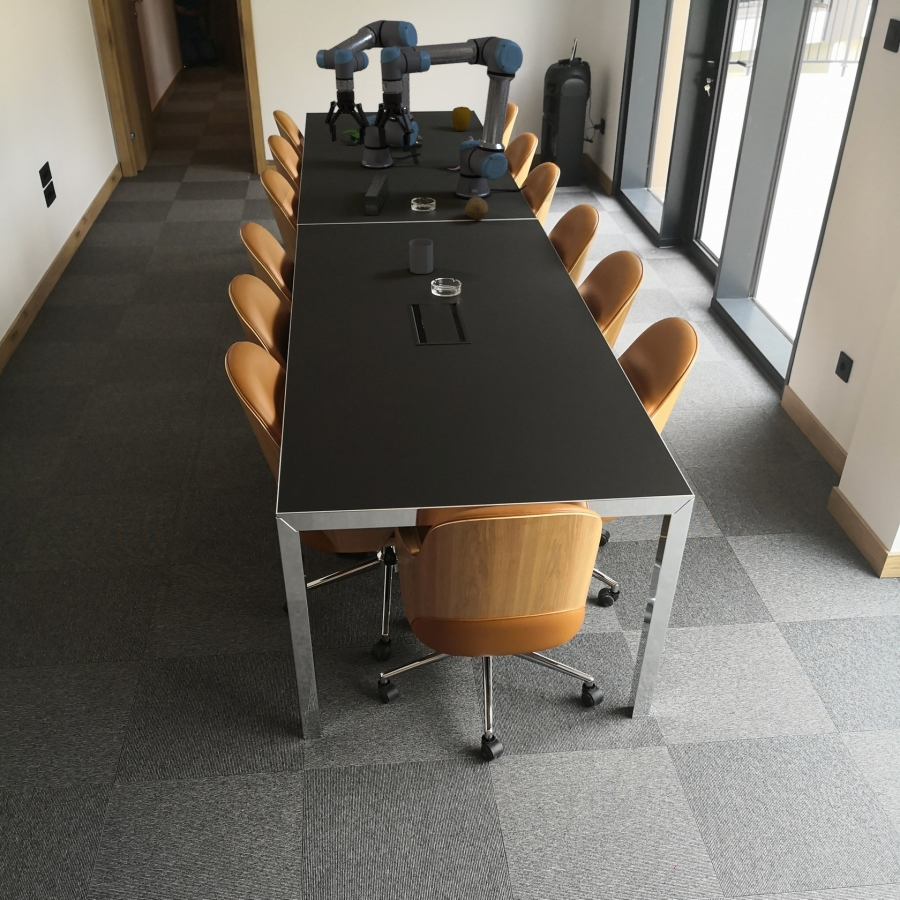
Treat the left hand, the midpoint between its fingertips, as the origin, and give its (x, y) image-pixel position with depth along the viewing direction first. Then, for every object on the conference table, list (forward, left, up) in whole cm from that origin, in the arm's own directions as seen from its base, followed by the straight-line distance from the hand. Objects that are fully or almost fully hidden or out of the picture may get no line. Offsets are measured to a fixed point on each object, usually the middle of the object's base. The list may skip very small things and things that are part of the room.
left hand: (348, 142), depth 375 cm
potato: (-2, +65, -22) cm, 69 cm away
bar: (+4, +18, -22) cm, 29 cm away
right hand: (+14, +37, +5) cm, 40 cm away
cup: (+58, +81, -22) cm, 102 cm away
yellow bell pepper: (-130, -28, -22) cm, 135 cm away
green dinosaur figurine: (-78, -53, -22) cm, 97 cm away
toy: (-59, +21, -22) cm, 67 cm away
